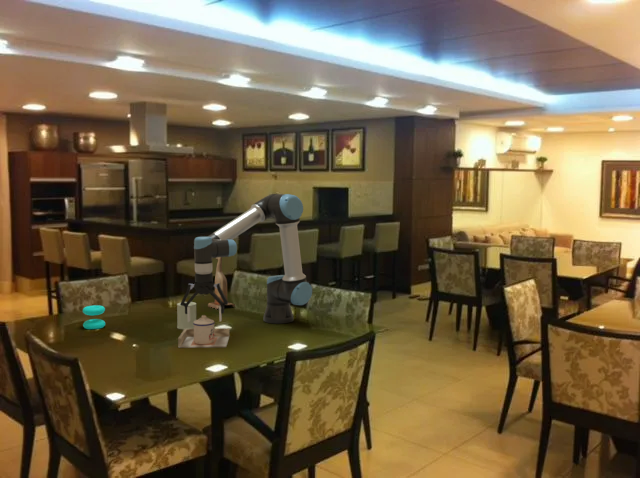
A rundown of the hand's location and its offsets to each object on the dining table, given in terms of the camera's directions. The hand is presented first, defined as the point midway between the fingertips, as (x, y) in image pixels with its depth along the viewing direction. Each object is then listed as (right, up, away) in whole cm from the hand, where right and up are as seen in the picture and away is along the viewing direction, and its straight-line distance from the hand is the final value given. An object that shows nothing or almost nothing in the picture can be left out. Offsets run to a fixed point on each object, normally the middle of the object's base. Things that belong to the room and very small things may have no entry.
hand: (204, 321), depth 263 cm
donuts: (-58, -7, +27) cm, 64 cm away
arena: (0, -9, +2) cm, 10 cm away
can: (-14, -7, +29) cm, 33 cm away
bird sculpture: (-5, -3, +76) cm, 76 cm away
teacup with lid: (0, -9, +1) cm, 9 cm away
